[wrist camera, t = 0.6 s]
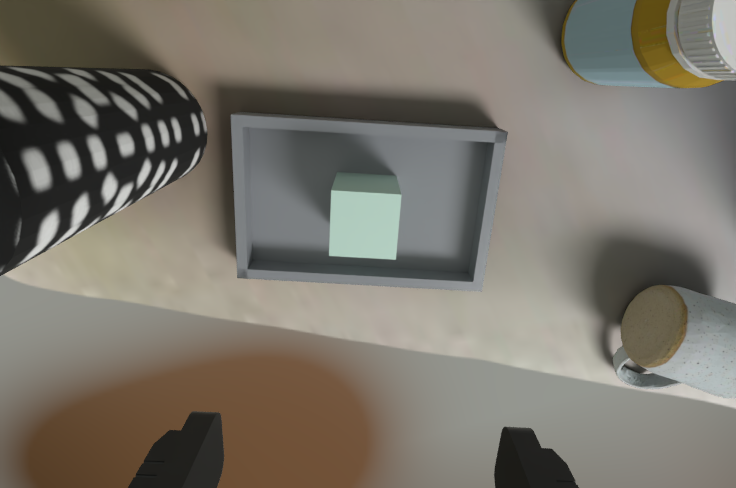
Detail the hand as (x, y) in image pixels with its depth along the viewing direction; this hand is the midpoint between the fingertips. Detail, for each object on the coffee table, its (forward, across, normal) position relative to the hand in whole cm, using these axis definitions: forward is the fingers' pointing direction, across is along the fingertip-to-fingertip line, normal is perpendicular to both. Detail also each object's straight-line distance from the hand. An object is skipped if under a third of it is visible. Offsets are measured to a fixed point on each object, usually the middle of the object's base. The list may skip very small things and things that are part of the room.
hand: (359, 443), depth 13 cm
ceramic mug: (+26, -27, +10) cm, 39 cm away
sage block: (+25, 0, 0) cm, 25 cm away
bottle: (+26, -16, -14) cm, 33 cm away
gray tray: (+26, 0, 0) cm, 26 cm away
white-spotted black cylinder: (+26, +17, -5) cm, 31 cm away
